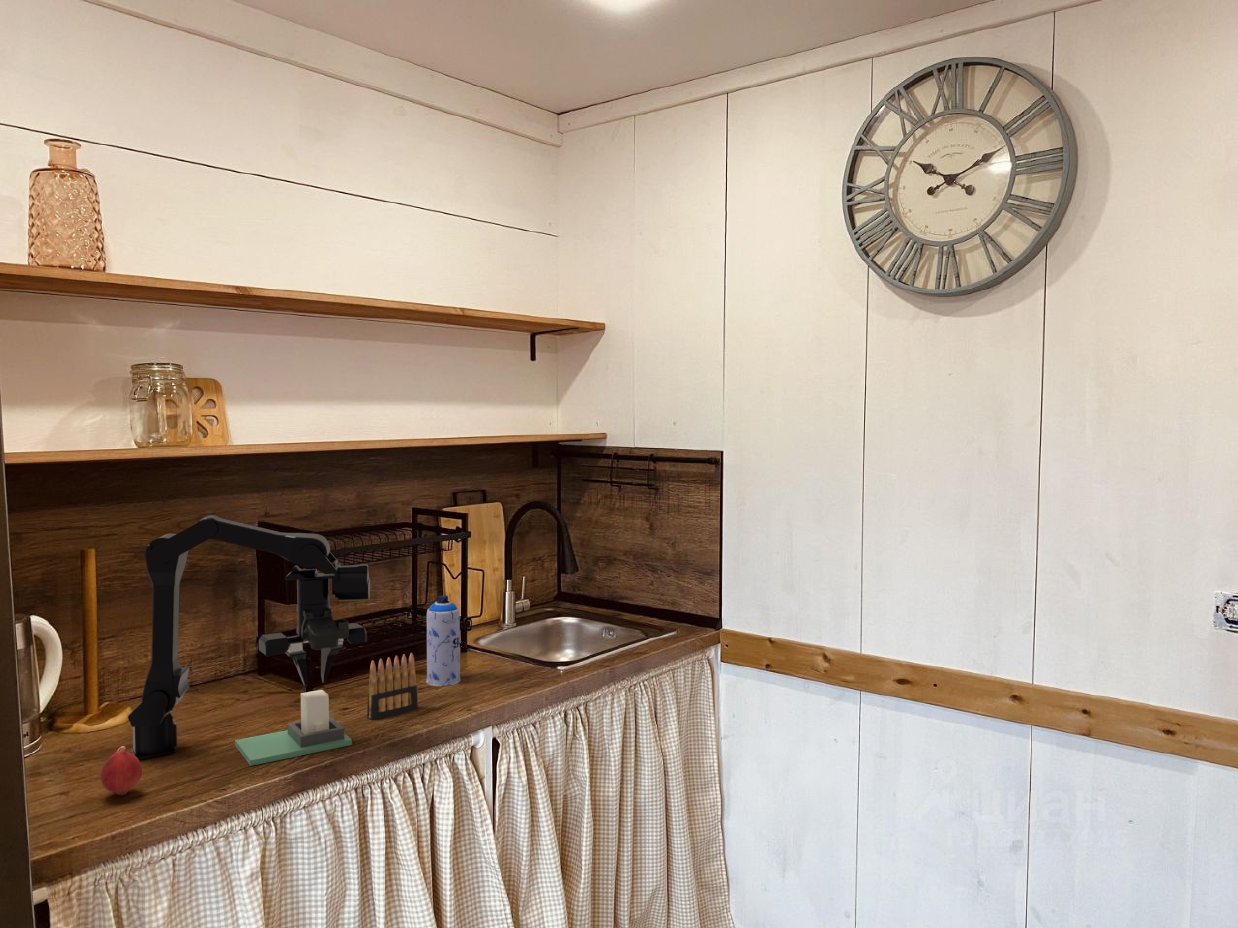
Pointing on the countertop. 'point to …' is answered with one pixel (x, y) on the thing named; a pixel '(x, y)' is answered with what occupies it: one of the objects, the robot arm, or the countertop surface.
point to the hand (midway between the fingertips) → (314, 683)
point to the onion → (121, 772)
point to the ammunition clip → (392, 689)
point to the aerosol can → (443, 643)
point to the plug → (314, 711)
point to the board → (291, 743)
